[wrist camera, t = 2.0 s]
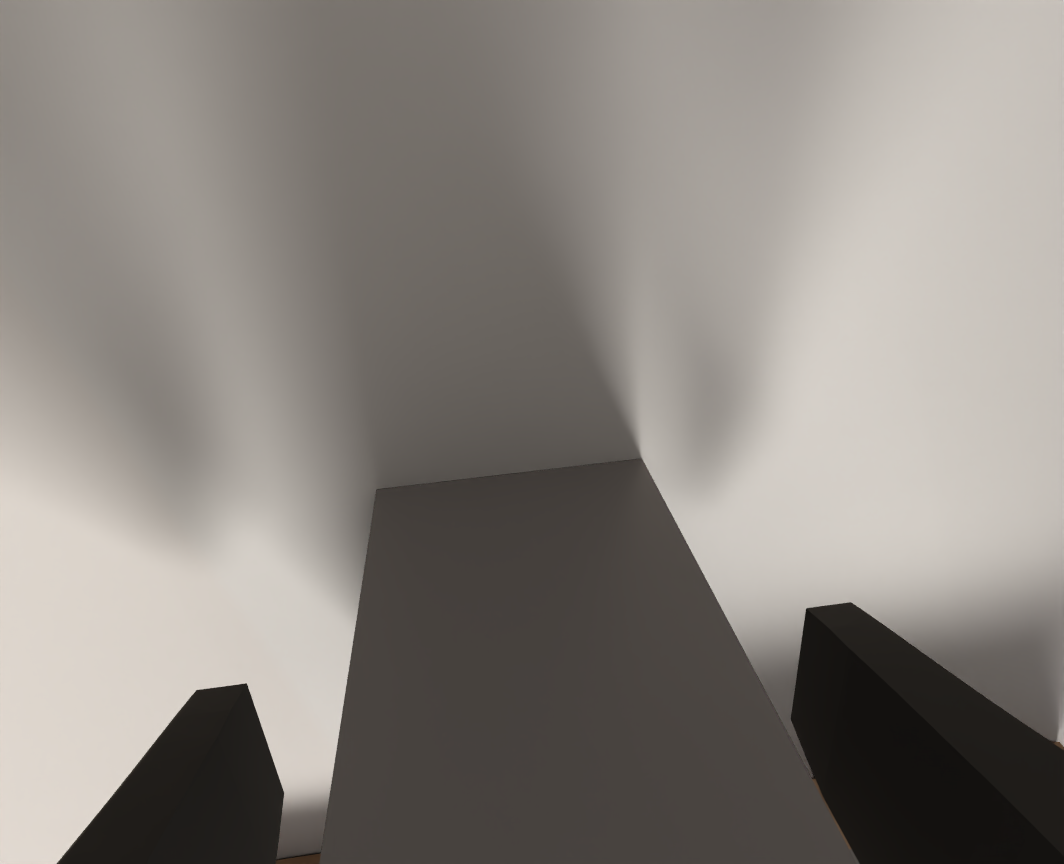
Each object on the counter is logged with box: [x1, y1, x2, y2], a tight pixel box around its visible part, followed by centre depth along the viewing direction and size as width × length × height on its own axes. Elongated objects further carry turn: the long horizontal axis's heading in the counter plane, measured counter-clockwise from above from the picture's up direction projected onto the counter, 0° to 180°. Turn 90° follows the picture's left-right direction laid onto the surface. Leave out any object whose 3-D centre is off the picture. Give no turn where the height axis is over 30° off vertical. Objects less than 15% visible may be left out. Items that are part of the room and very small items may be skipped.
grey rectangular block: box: [319, 459, 857, 864], centre depth 8 cm, size 4×4×8 cm
